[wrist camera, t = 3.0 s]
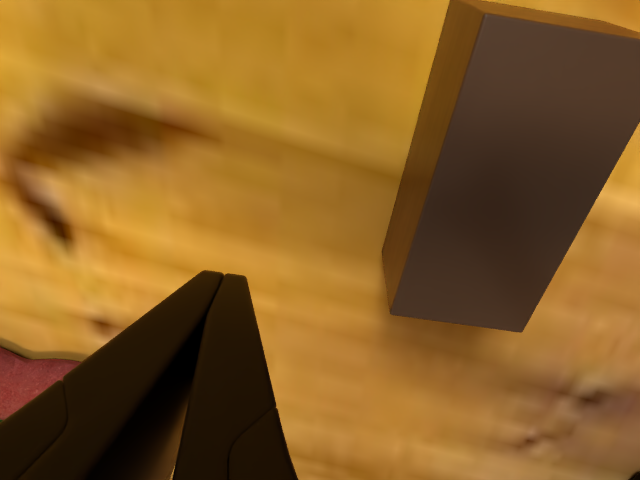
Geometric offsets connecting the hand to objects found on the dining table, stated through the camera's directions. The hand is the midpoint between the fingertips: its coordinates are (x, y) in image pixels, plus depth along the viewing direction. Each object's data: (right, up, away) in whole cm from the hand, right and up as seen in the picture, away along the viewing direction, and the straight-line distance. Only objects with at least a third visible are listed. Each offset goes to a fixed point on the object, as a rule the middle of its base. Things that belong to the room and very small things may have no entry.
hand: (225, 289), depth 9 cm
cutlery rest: (+8, +4, +8) cm, 12 cm away
